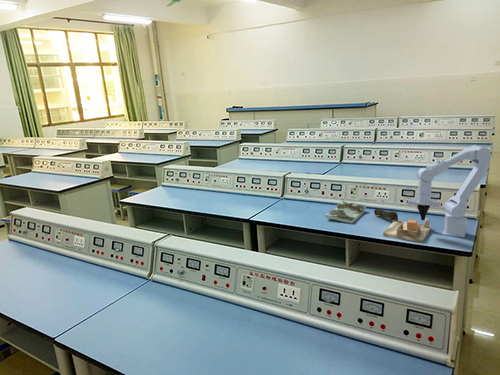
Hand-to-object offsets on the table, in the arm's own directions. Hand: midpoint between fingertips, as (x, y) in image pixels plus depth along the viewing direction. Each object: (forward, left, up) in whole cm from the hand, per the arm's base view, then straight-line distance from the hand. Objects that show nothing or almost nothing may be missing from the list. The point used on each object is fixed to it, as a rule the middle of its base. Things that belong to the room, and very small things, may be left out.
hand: (423, 219), depth 181 cm
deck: (+7, +1, -8) cm, 10 cm away
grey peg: (-1, -7, -6) cm, 9 cm away
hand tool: (+24, -17, -11) cm, 31 cm away
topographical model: (+44, -12, -8) cm, 46 cm away
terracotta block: (+5, 0, -6) cm, 8 cm away
